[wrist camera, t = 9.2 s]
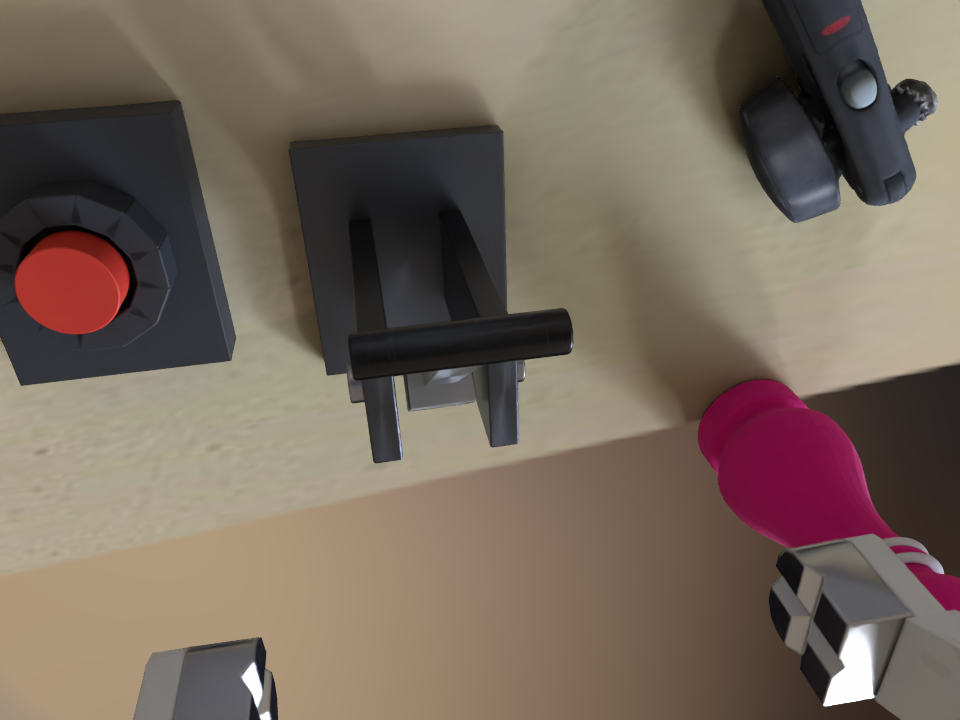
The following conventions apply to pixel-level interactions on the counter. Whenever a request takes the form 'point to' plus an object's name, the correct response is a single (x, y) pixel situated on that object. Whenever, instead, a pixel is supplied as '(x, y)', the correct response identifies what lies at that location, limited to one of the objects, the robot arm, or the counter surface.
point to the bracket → (407, 254)
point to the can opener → (831, 114)
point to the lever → (455, 352)
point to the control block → (112, 238)
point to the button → (72, 282)
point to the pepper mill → (801, 477)
